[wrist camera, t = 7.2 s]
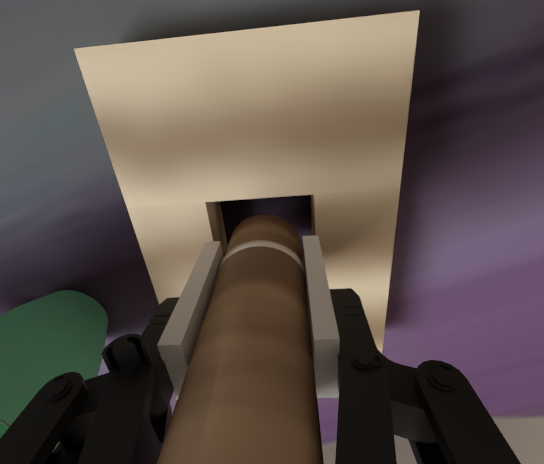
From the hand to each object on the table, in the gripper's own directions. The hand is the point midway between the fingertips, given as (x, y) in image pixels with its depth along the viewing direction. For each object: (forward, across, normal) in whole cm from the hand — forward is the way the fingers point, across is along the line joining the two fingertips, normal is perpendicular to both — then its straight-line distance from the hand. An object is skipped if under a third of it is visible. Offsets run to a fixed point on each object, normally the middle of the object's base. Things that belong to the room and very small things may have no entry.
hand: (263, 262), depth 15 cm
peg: (+2, 0, 0) cm, 2 cm away
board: (+4, 0, 0) cm, 4 cm away
